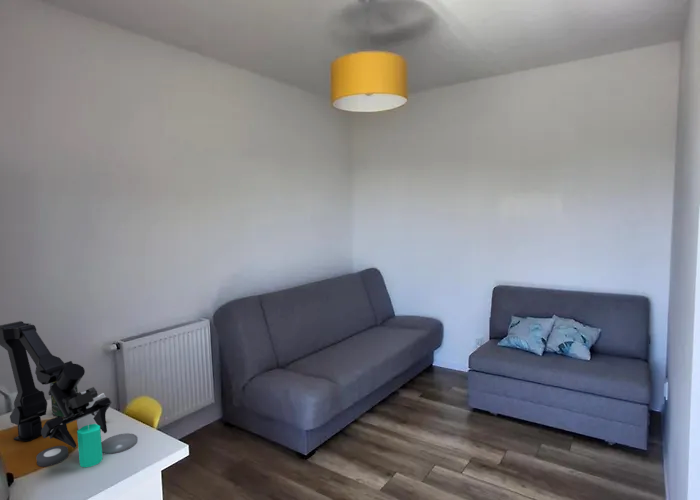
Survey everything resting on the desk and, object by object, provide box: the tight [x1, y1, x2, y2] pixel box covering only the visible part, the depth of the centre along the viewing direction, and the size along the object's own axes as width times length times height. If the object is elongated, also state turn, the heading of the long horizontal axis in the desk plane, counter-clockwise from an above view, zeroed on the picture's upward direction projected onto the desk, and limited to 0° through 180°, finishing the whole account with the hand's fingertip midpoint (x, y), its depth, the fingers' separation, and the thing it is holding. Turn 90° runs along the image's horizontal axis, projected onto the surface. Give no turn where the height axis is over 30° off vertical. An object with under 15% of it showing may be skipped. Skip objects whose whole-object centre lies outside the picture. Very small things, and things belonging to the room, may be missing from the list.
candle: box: [76, 424, 104, 468], centre depth 130 cm, size 6×6×12 cm
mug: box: [76, 390, 107, 431], centre depth 152 cm, size 10×7×12 cm, turn 128°
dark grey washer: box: [35, 445, 69, 468], centre depth 132 cm, size 8×8×2 cm
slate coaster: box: [101, 432, 138, 455], centre depth 140 cm, size 11×11×1 cm
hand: (91, 439), depth 130 cm, fingers open, 9 cm apart
